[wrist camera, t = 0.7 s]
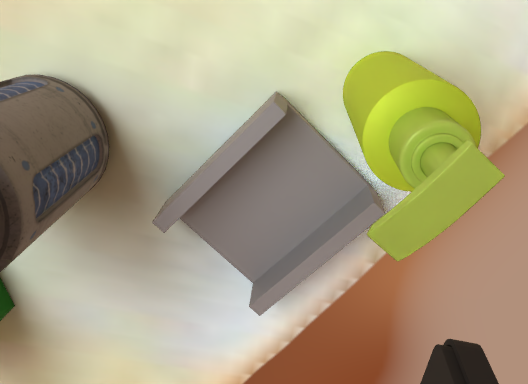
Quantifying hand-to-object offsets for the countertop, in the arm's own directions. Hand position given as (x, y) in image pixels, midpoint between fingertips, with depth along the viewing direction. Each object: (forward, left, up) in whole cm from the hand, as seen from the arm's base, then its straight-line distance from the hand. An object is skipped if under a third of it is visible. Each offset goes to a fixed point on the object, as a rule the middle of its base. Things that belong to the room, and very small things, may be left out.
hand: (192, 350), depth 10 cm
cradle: (+6, +6, -30) cm, 31 cm away
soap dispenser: (-5, +6, -30) cm, 31 cm away
